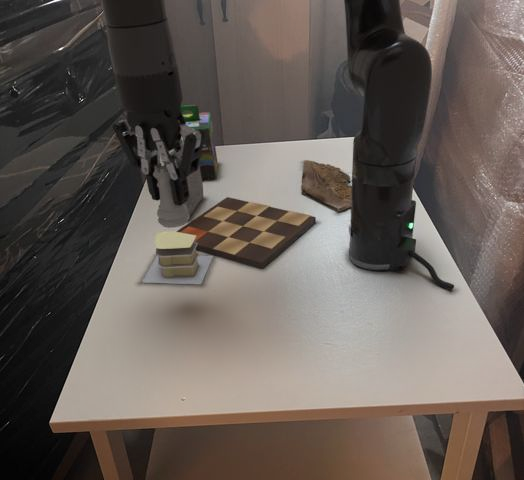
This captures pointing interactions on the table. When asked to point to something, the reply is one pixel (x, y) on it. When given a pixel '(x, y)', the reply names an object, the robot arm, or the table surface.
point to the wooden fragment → (327, 184)
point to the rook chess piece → (168, 201)
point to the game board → (247, 231)
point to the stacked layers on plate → (177, 260)
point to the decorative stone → (193, 188)
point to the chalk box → (208, 151)
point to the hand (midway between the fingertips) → (170, 200)
